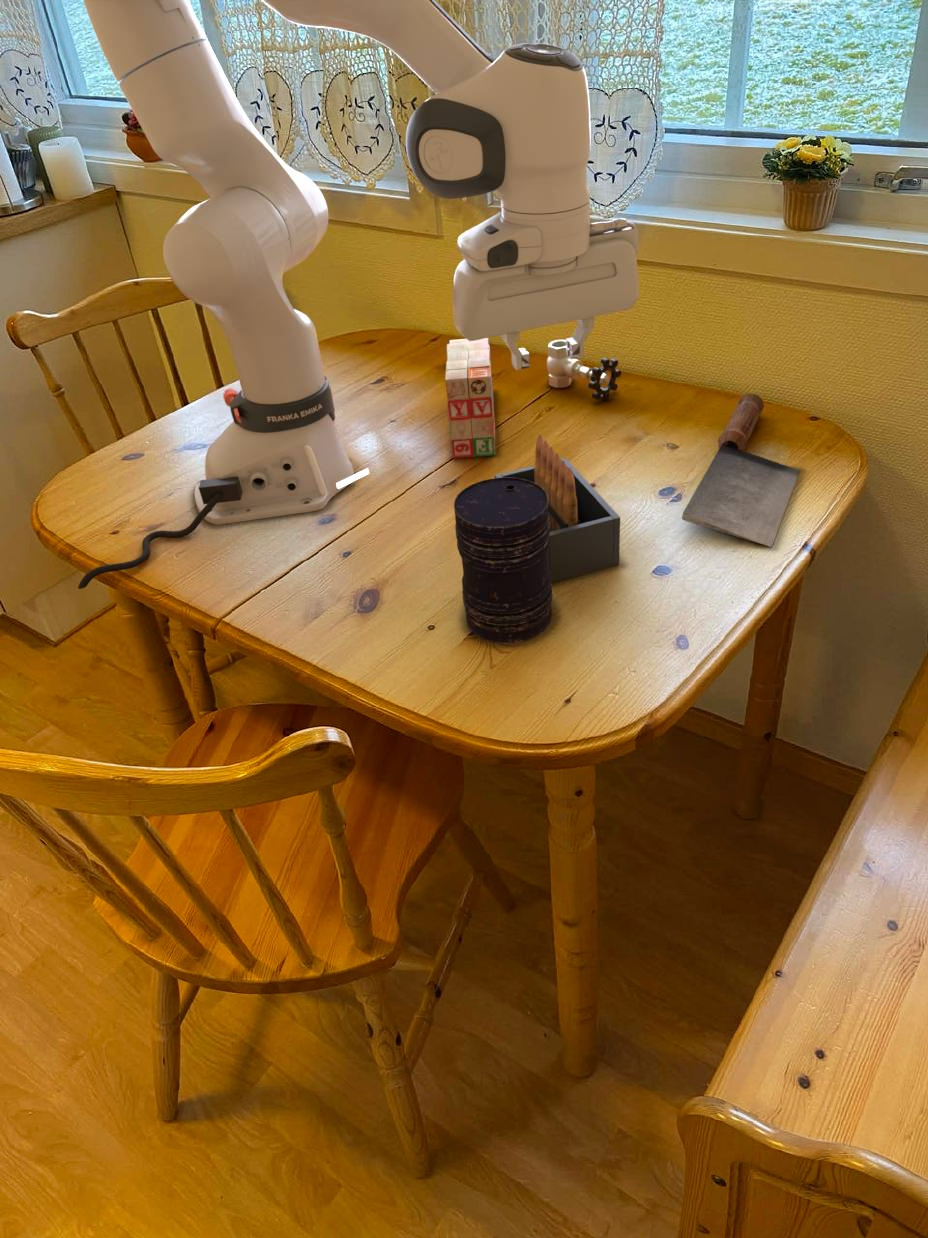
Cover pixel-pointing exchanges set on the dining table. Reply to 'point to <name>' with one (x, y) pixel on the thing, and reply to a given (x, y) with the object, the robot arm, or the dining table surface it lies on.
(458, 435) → the stack of blocks
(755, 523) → the meat cleaver
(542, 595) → the dark blue cylinder
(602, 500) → the bin
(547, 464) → the ammunition clip
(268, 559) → the dining table surface
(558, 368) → the valve
